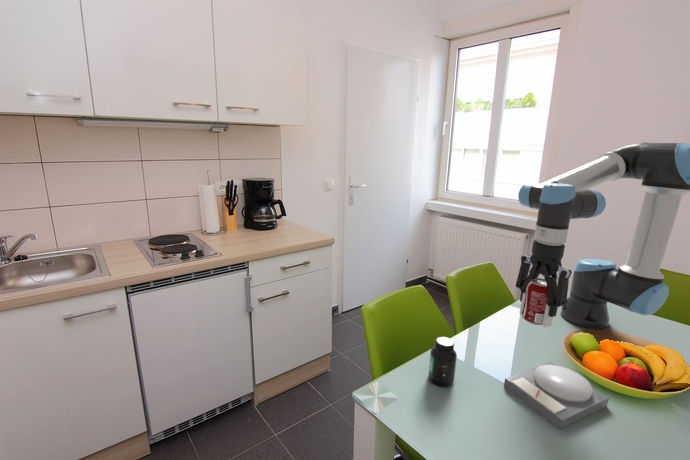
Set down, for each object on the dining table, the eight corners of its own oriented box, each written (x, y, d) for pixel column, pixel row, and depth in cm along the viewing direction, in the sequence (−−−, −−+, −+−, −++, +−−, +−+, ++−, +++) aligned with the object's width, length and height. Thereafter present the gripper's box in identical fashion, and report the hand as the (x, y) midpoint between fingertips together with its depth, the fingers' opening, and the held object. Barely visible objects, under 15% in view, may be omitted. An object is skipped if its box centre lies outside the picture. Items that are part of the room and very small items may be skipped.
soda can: (551, 328, 97) (559, 287, 94) (524, 325, 98) (531, 284, 95) (543, 317, 103) (551, 278, 100) (518, 313, 105) (525, 275, 102)
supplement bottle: (426, 384, 96) (430, 345, 93) (429, 369, 102) (433, 332, 99) (452, 390, 93) (457, 350, 90) (454, 375, 100) (458, 337, 97)
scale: (548, 369, 103) (550, 357, 102) (606, 406, 89) (610, 392, 88) (503, 386, 96) (505, 373, 95) (560, 429, 82) (563, 414, 81)
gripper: (509, 233, 102) (498, 306, 108) (575, 254, 85) (558, 339, 90) (527, 231, 105) (516, 302, 111) (595, 251, 87) (577, 334, 93)
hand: (535, 319), depth 100 cm, fingers closed on soda can, 7 cm apart
